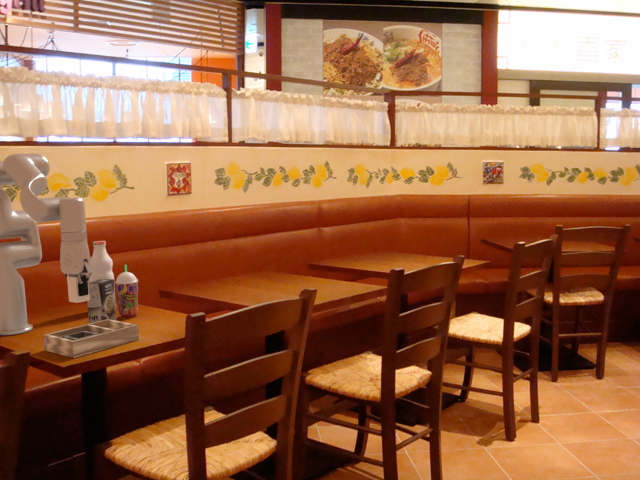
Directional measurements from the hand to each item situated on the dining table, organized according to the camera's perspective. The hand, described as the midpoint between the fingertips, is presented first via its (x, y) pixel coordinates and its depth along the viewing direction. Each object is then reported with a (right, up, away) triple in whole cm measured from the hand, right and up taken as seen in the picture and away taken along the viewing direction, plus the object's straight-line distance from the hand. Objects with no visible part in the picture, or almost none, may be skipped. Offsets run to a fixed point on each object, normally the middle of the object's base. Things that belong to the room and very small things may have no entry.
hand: (78, 294), depth 209 cm
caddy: (+3, -17, +6) cm, 18 cm away
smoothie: (+3, -12, +45) cm, 46 cm away
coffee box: (-3, -14, +33) cm, 36 cm away
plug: (0, -2, 0) cm, 2 cm away
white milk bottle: (-10, -11, +55) cm, 58 cm away
